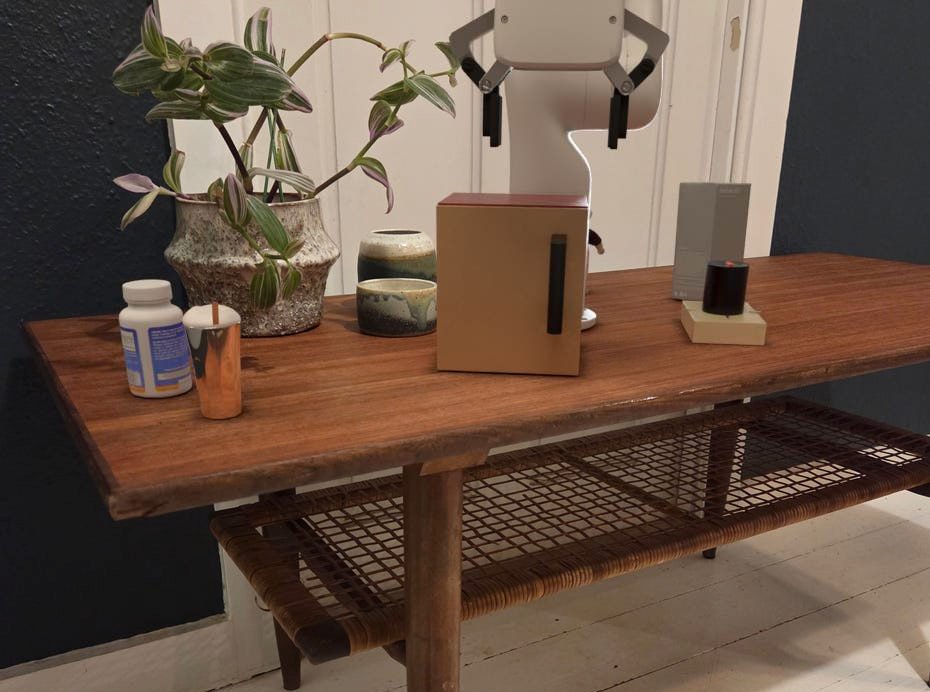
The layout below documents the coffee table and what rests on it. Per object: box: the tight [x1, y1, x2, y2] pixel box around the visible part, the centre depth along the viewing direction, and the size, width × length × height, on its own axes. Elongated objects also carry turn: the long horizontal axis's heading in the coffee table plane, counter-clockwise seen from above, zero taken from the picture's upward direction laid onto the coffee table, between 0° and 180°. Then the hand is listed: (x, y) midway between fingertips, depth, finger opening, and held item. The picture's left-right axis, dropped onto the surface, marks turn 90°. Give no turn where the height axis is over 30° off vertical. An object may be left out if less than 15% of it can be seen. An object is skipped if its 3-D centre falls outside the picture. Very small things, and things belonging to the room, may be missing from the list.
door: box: [435, 204, 588, 376], centre depth 81 cm, size 7×14×16 cm, turn 84°
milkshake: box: [182, 301, 242, 420], centre depth 72 cm, size 4×5×10 cm
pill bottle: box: [118, 279, 193, 399], centre depth 79 cm, size 5×5×10 cm
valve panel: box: [680, 300, 768, 346], centre depth 105 cm, size 12×9×3 cm
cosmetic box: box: [670, 181, 752, 301], centre depth 121 cm, size 8×7×16 cm
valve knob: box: [702, 261, 750, 315], centre depth 103 cm, size 5×5×6 cm
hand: (553, 147), depth 73 cm, fingers open, 9 cm apart
